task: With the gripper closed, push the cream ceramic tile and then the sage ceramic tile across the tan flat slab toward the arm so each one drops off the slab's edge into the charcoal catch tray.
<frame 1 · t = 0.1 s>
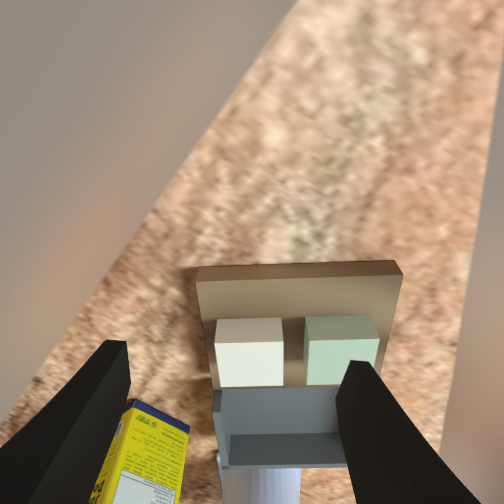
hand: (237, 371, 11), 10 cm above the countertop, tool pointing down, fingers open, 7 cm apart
supplement box: (145, 423, 31), on the countertop
sage tile: (334, 338, 23), point 1 cm above the countertop, touching tan flat slab
tan flat slab: (294, 323, 24), on the countertop
catch tray: (291, 406, 29), on the countertop
cream tile: (250, 340, 23), point 1 cm above the countertop, touching tan flat slab
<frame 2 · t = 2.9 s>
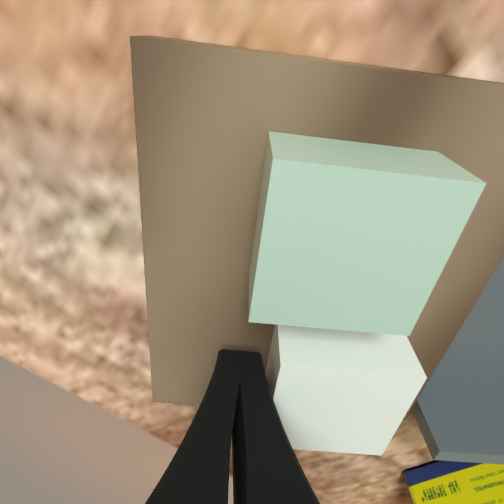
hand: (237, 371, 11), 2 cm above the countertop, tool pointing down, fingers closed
supplement box: (469, 471, 20), on the countertop
sage tile: (333, 218, 9), point 1 cm above the countertop, touching tan flat slab
tan flat slab: (307, 264, 12), on the countertop
cream tile: (325, 361, 12), point 2 cm above the countertop, touching gripper, tan flat slab
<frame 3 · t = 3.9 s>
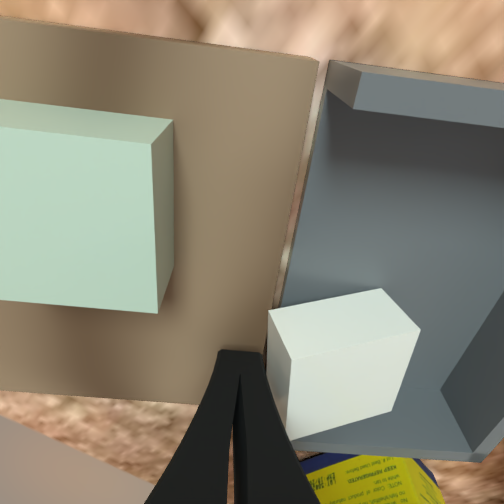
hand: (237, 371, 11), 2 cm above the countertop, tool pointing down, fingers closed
supplement box: (363, 464, 19), on the countertop
sage tile: (93, 192, 9), point 1 cm above the countertop, touching tan flat slab
tan flat slab: (121, 245, 11), on the countertop
catch tray: (402, 273, 12), on the countertop
cream tile: (320, 341, 12), point 1 cm above the countertop, tilted 16°, touching catch tray, tan flat slab
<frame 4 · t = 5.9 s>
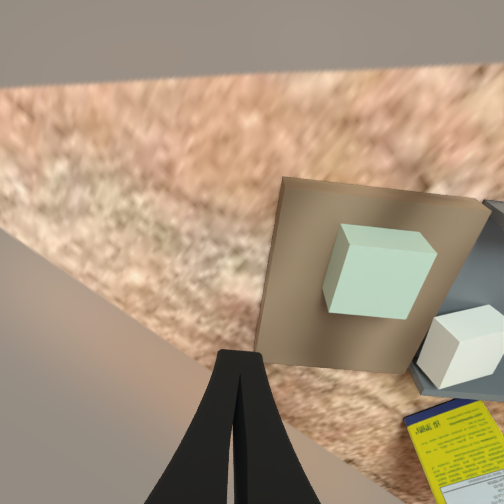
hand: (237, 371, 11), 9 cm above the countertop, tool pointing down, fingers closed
supplement box: (449, 418, 29), on the countertop
sage tile: (368, 261, 18), point 1 cm above the countertop, touching tan flat slab
tan flat slab: (349, 281, 21), on the countertop
catch tray: (500, 296, 21), on the countertop
cream tile: (451, 334, 22), point 1 cm above the countertop, tilted 16°, touching catch tray, tan flat slab
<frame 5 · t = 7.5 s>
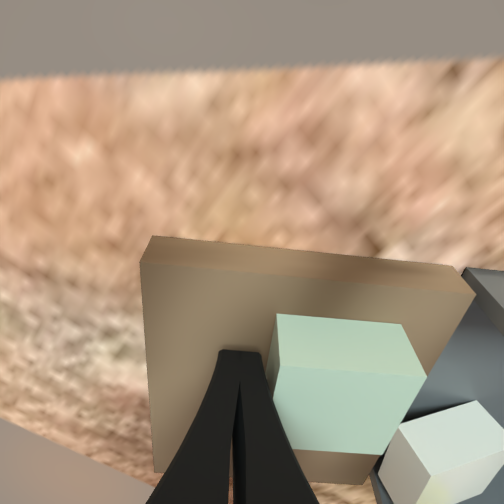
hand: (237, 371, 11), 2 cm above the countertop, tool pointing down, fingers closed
sage tile: (325, 361, 12), point 2 cm above the countertop, touching gripper
tan flat slab: (277, 370, 15), on the countertop
catch tray: (492, 387, 15), on the countertop
cream tile: (425, 438, 16), point 1 cm above the countertop, tilted 16°, touching catch tray, tan flat slab
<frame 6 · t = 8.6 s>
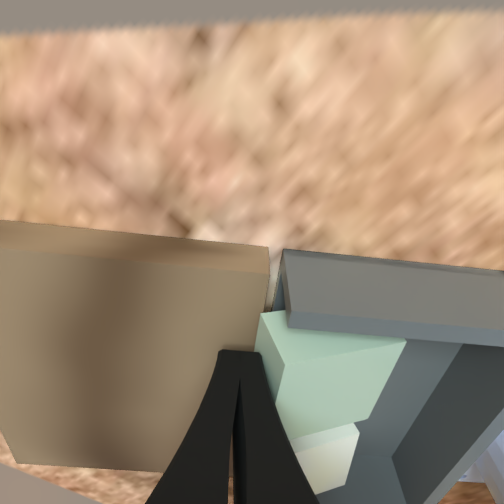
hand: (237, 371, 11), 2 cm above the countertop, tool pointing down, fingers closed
sage tile: (305, 347, 12), point 1 cm above the countertop, tilted 18°, touching catch tray, gripper
tan flat slab: (127, 358, 14), on the countertop
catch tray: (352, 376, 15), on the countertop
cream tile: (287, 428, 15), point 1 cm above the countertop, tilted 16°, touching catch tray, tan flat slab
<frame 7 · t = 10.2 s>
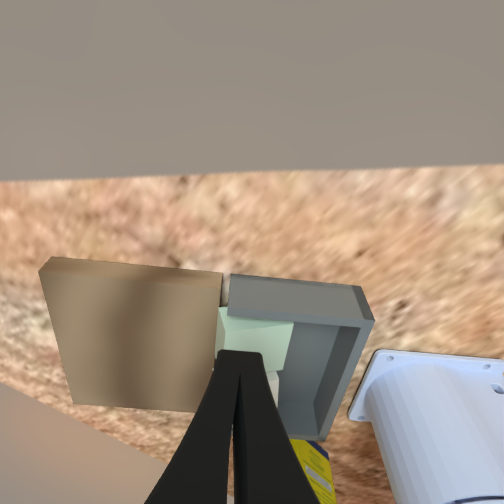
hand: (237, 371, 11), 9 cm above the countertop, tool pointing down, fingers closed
supplement box: (285, 446, 32), on the countertop
sage tile: (247, 328, 22), point 1 cm above the countertop, tilted 16°, touching catch tray, tan flat slab
tan flat slab: (143, 336, 24), on the countertop
catch tray: (280, 348, 24), on the countertop
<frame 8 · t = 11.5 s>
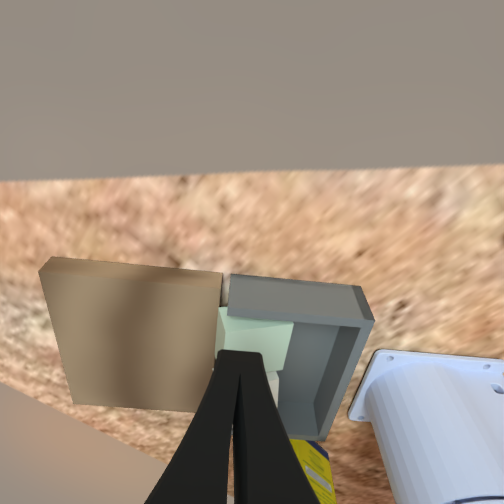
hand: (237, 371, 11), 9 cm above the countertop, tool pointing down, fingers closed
supplement box: (285, 446, 32), on the countertop
sage tile: (247, 328, 22), point 1 cm above the countertop, tilted 16°, touching catch tray, tan flat slab
tan flat slab: (143, 336, 24), on the countertop
catch tray: (280, 348, 24), on the countertop
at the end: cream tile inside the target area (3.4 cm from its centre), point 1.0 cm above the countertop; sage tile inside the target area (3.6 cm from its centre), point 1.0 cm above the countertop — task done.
